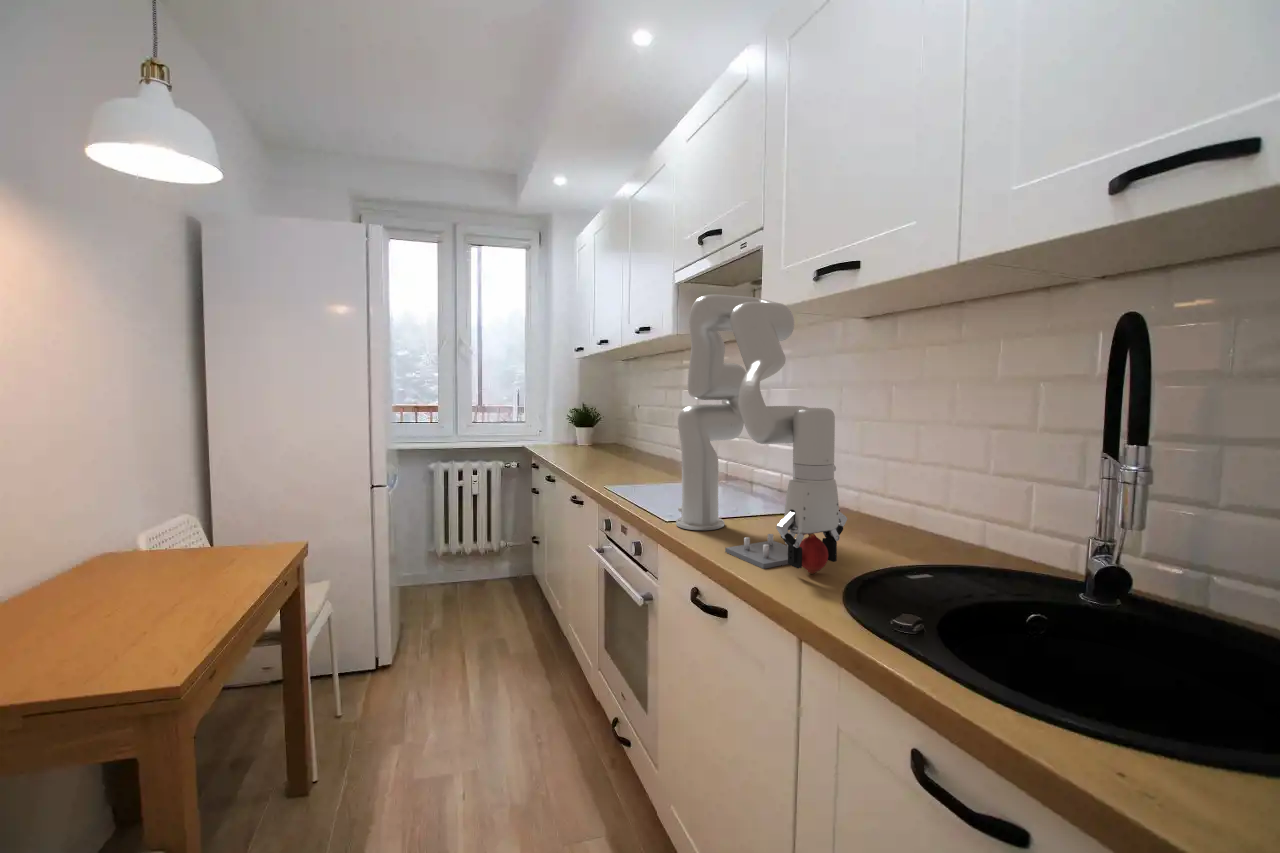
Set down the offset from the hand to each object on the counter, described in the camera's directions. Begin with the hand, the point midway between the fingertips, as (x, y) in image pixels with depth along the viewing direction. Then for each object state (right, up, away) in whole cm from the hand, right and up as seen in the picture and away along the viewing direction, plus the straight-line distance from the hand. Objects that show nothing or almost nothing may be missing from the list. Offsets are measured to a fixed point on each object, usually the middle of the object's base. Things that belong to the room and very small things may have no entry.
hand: (812, 562), depth 108 cm
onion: (0, -2, 0) cm, 2 cm away
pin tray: (-6, -1, +12) cm, 13 cm away
